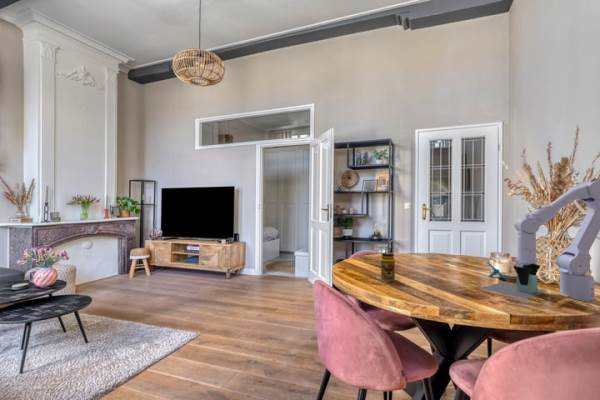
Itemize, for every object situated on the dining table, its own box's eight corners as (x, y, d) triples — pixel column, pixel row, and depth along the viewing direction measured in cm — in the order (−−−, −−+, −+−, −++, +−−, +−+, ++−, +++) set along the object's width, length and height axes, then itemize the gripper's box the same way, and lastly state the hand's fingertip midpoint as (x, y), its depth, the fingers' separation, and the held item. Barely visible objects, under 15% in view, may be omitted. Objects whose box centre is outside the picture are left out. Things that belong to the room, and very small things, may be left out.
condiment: (387, 281, 136) (387, 255, 136) (374, 277, 144) (374, 252, 144) (399, 279, 140) (399, 253, 140) (386, 276, 147) (386, 251, 147)
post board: (546, 293, 119) (546, 280, 119) (527, 301, 109) (527, 287, 109) (501, 284, 132) (501, 272, 132) (480, 290, 122) (480, 278, 122)
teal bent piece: (508, 279, 135) (489, 261, 139) (497, 287, 136) (479, 269, 141) (507, 277, 144) (489, 261, 149) (496, 285, 146) (479, 268, 150)
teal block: (537, 291, 118) (537, 275, 118) (531, 293, 115) (531, 277, 115) (522, 288, 122) (522, 273, 122) (516, 290, 119) (516, 275, 119)
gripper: (522, 246, 126) (523, 279, 126) (506, 248, 118) (507, 284, 118) (543, 248, 120) (543, 282, 120) (528, 251, 112) (528, 288, 112)
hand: (527, 283), depth 118 cm, fingers open, 5 cm apart
